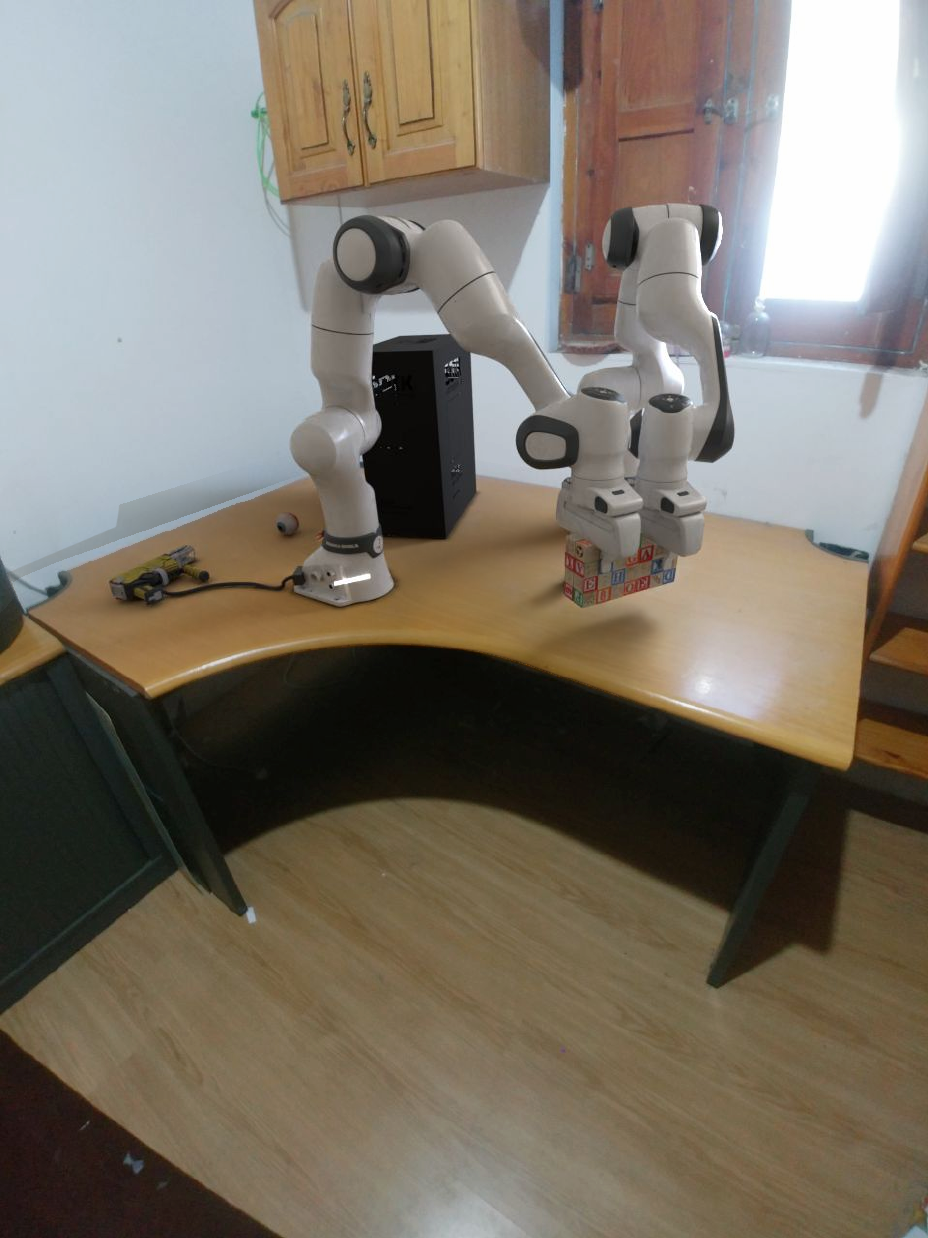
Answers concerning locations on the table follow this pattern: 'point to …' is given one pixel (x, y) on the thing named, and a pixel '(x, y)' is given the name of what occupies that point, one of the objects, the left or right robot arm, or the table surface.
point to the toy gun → (155, 576)
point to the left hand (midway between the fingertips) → (591, 563)
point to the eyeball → (287, 523)
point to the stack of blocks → (612, 572)
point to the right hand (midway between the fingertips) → (651, 560)
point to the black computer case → (422, 435)
